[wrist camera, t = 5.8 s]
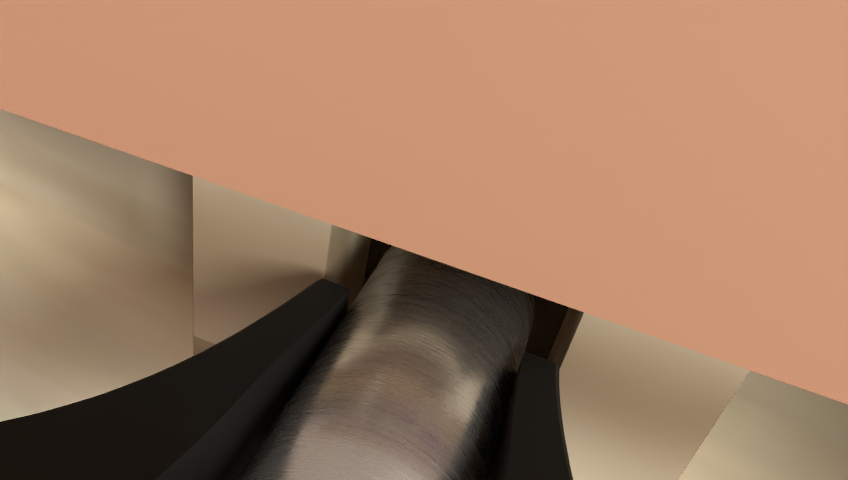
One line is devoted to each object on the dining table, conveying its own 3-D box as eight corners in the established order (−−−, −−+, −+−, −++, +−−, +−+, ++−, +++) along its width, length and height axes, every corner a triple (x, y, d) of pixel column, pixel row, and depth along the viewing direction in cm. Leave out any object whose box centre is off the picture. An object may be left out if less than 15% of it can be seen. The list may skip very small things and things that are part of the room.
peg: (515, 381, 16) (401, 770, 10) (370, 333, 17) (172, 670, 10) (552, 256, 14) (440, 643, 8) (385, 207, 15) (151, 528, 8)
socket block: (617, 485, 19) (607, 586, 17) (251, 345, 21) (194, 418, 18) (827, 122, 13) (861, 199, 10) (275, -39, 14) (191, -6, 12)
